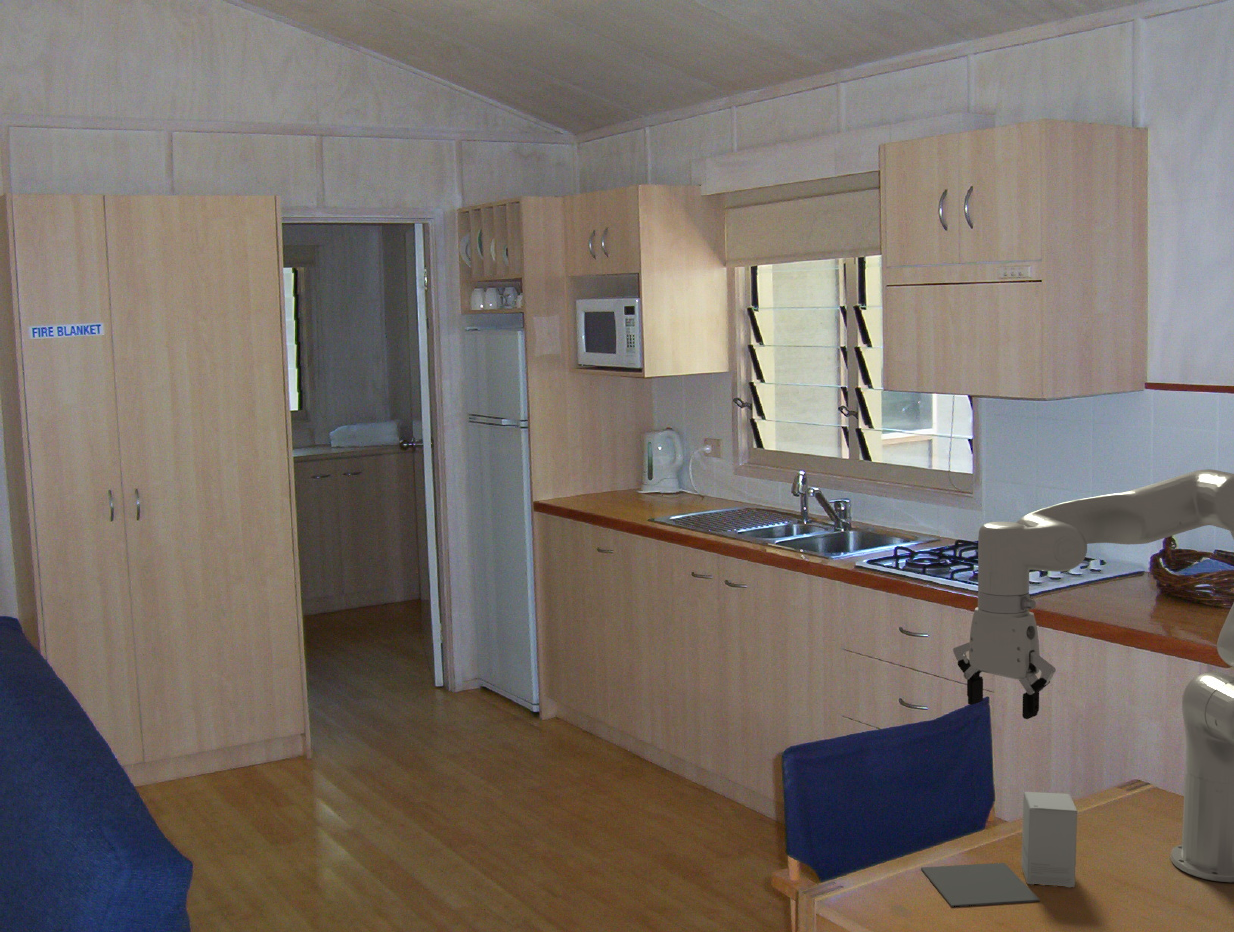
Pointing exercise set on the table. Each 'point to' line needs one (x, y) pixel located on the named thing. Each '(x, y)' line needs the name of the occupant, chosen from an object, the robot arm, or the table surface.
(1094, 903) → the table surface
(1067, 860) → the supplement box
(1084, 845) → the table surface
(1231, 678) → the robot arm
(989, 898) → the mat
